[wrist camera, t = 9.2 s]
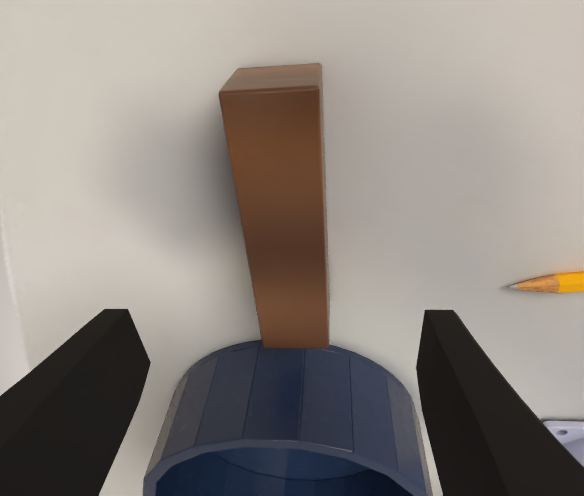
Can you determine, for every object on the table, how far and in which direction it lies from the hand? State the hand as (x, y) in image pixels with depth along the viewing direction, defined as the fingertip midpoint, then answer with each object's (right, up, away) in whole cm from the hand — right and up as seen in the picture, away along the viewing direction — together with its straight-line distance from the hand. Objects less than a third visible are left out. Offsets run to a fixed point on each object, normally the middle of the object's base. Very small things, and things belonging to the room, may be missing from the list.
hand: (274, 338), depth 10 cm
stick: (0, +4, +5) cm, 6 cm away
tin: (0, -8, +13) cm, 15 cm away
